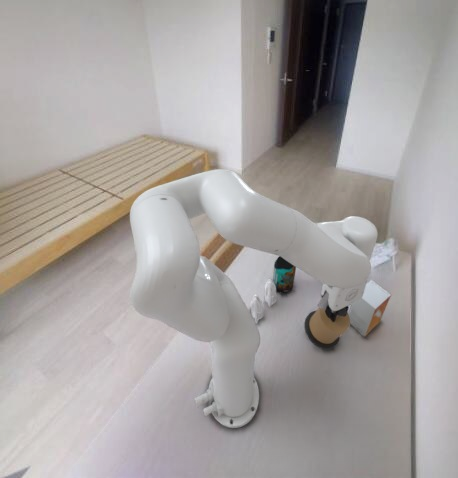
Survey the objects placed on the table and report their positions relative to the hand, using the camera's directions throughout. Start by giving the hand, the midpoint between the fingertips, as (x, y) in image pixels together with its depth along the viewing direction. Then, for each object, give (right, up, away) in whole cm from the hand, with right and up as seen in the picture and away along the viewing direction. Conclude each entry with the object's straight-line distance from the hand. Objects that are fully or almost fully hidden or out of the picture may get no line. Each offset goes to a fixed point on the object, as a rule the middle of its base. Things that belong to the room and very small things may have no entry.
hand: (335, 313), depth 71 cm
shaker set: (-17, -7, +16) cm, 24 cm away
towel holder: (+2, -6, -1) cm, 6 cm away
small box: (+13, -9, +11) cm, 19 cm away
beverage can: (-9, -3, +23) cm, 25 cm away
